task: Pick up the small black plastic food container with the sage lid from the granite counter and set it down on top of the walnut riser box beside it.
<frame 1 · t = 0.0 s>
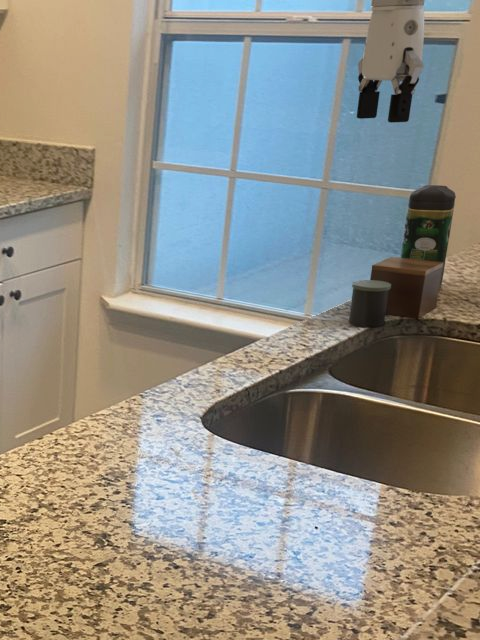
hand: (381, 120, 163), 32 cm above the table, tool pointing down, fingers open, 9 cm apart
coffee jar: (417, 288, 195), on the table
container: (366, 323, 172), on the table
riser box: (400, 309, 179), on the table
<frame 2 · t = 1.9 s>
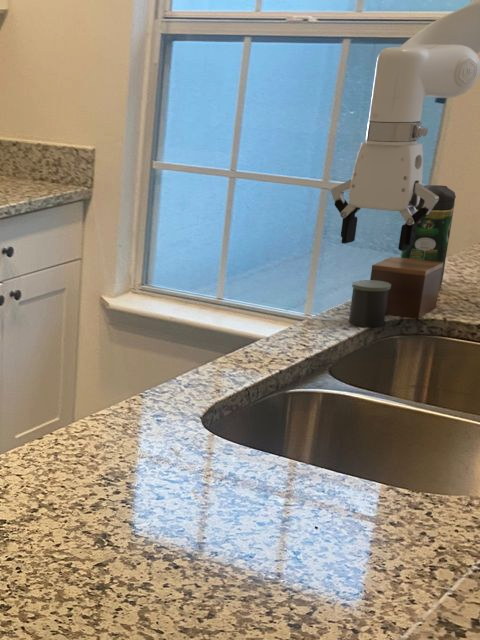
hand: (375, 245, 166), 13 cm above the table, tool pointing down, fingers open, 9 cm apart
nothing on the table moved.
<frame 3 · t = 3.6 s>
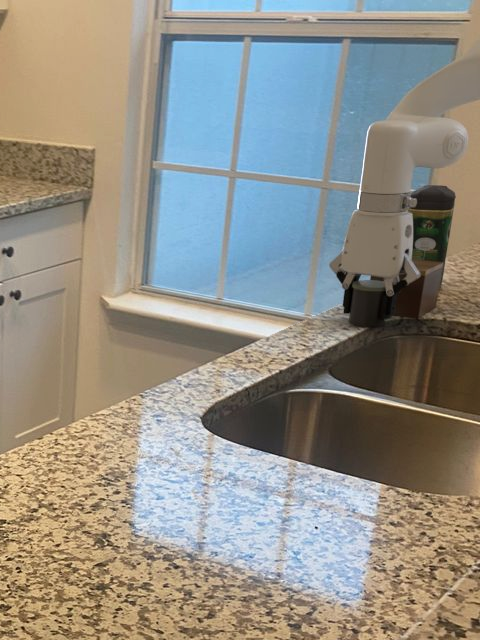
hand: (367, 314, 171), 2 cm above the table, tool pointing down, fingers closed on container, 5 cm apart
container: (366, 323, 172), on the table, touching gripper
everything else where it was.
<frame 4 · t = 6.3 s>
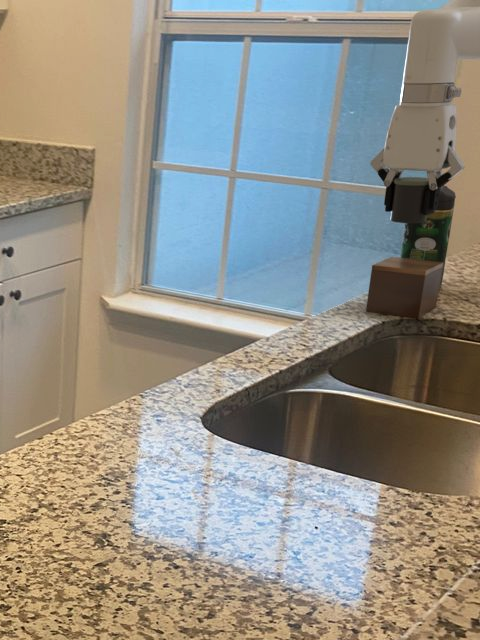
hand: (409, 211, 171), 17 cm above the table, tool pointing down, fingers closed on container, 5 cm apart
container: (408, 220, 171), point 16 cm above the table, touching gripper
everything else where it was.
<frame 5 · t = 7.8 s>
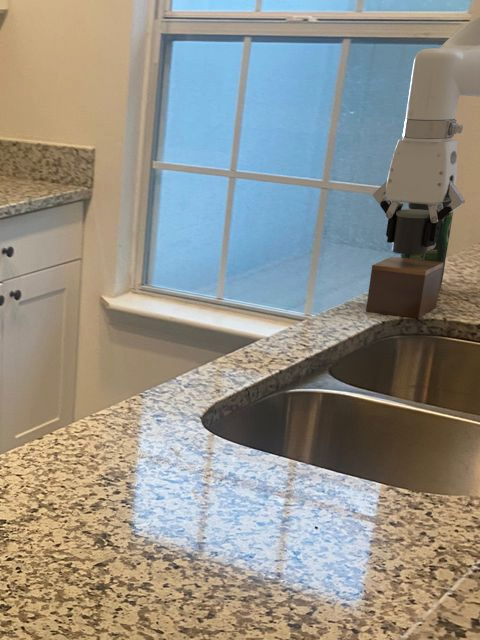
hand: (410, 242, 175), 12 cm above the table, tool pointing down, fingers closed on container, 5 cm apart
container: (409, 251, 175), point 10 cm above the table, touching gripper
everything else where it was.
when the fingers open (10 cm above the table, at t = 8.9 s): container stays where it is, resting on riser box.
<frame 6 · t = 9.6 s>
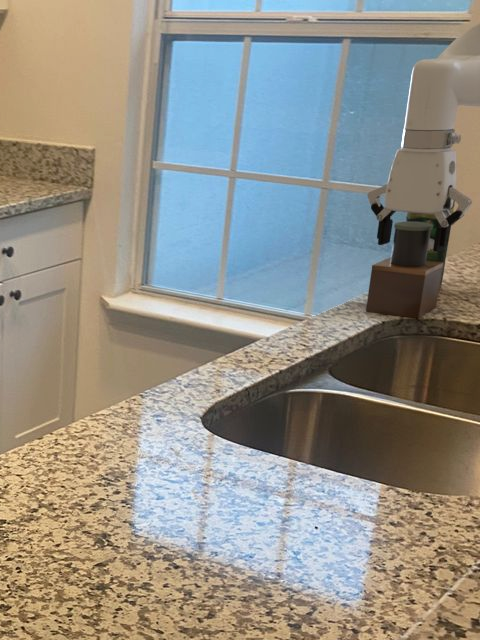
hand: (410, 247, 175), 11 cm above the table, tool pointing down, fingers open, 9 cm apart
container: (407, 263, 176), point 8 cm above the table, touching riser box
everything else where it was.
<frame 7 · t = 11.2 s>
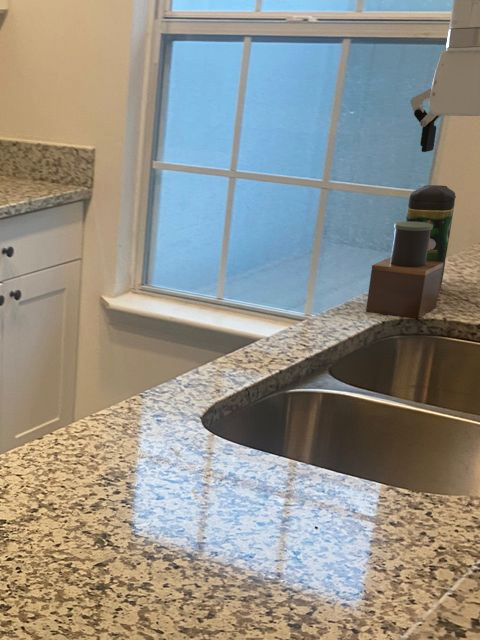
hand: (455, 152, 172), 26 cm above the table, tool pointing down, fingers open, 9 cm apart
nothing on the table moved.
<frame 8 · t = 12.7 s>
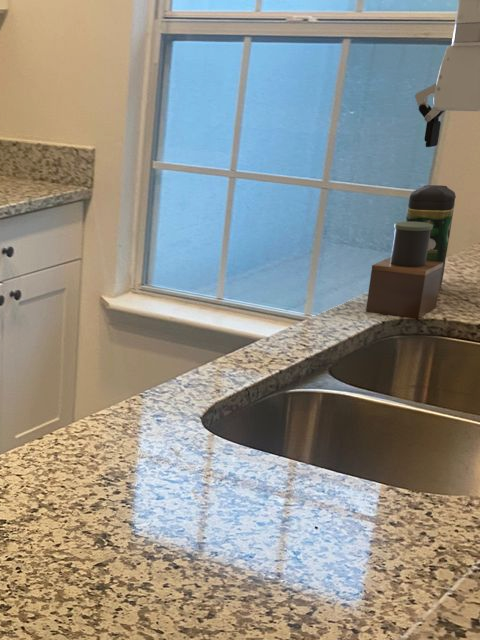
hand: (459, 147, 172), 26 cm above the table, tool pointing down, fingers open, 9 cm apart
nothing on the table moved.
at the end: container 0.1 cm off-centre on the riser box, point 8.0 cm above the riser box's base; container tilted 0°; the gripper is holding nothing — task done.
